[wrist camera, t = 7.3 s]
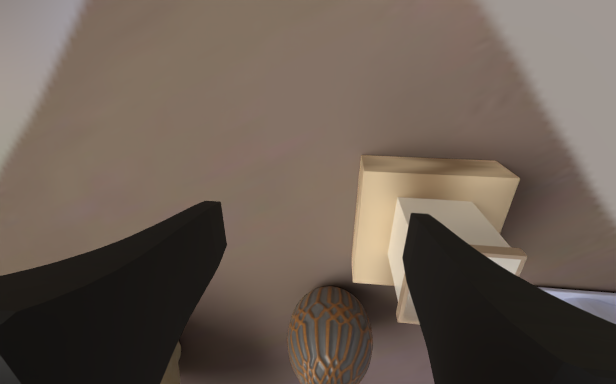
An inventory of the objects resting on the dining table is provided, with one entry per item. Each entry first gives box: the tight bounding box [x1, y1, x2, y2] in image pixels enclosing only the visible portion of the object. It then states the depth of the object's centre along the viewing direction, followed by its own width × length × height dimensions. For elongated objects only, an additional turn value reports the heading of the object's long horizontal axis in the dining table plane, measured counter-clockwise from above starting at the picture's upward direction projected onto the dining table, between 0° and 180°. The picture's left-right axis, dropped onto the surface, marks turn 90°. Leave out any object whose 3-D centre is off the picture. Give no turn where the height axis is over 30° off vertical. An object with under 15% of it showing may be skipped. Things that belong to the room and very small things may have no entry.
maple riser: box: [352, 155, 520, 286], centre depth 21 cm, size 9×9×3 cm
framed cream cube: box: [388, 197, 528, 324], centre depth 17 cm, size 5×5×6 cm
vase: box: [287, 286, 373, 384], centre depth 23 cm, size 7×7×9 cm
